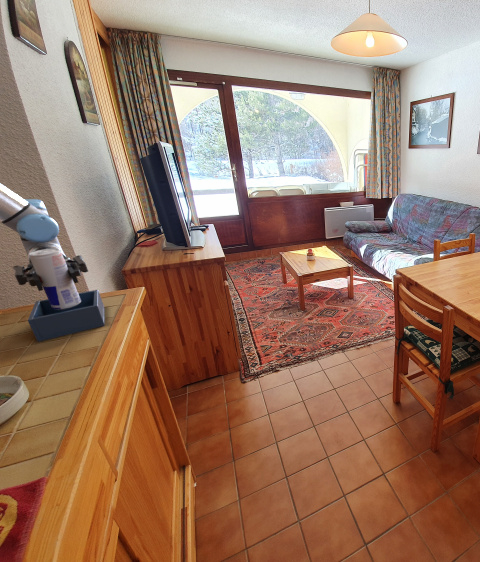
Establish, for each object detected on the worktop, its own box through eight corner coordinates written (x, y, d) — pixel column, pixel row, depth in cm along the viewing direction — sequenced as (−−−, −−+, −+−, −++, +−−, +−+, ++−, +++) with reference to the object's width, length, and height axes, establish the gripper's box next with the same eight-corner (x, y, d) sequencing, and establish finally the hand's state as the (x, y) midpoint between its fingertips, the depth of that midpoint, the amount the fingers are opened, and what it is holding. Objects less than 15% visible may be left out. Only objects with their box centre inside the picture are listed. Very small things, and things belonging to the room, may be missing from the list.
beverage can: (80, 299, 85) (59, 246, 79) (82, 306, 81) (60, 251, 75) (52, 305, 81) (28, 250, 75) (52, 313, 77) (27, 256, 71)
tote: (37, 342, 75) (27, 320, 72) (44, 321, 84) (35, 301, 81) (104, 325, 82) (97, 305, 80) (104, 307, 91) (97, 289, 89)
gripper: (94, 263, 97) (110, 284, 82) (5, 280, 84) (6, 308, 70) (86, 240, 94) (101, 257, 79) (-8, 254, 81) (-9, 277, 67)
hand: (57, 281), depth 74 cm, fingers closed on beverage can, 6 cm apart
